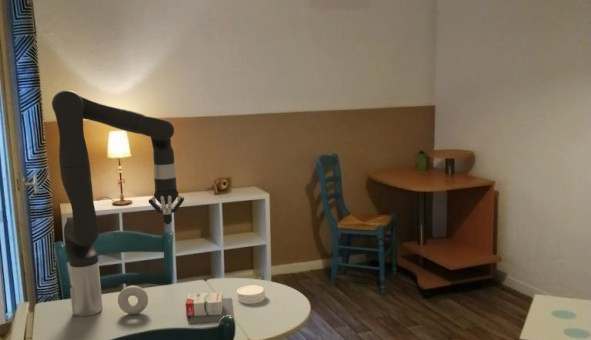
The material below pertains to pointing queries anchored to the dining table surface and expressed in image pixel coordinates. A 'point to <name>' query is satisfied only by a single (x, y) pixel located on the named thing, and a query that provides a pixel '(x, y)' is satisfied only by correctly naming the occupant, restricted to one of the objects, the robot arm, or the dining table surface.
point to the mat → (214, 318)
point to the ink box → (204, 304)
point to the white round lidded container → (250, 294)
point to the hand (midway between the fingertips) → (168, 223)
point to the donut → (132, 291)
